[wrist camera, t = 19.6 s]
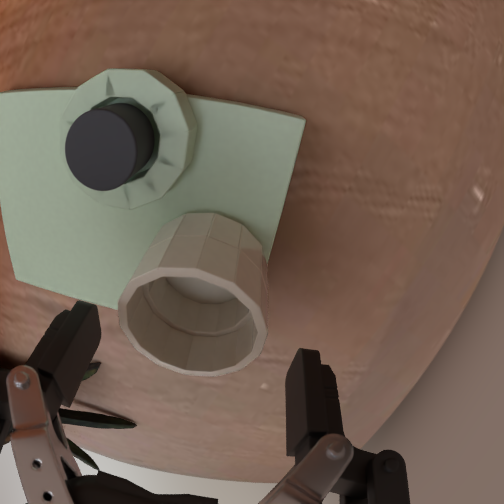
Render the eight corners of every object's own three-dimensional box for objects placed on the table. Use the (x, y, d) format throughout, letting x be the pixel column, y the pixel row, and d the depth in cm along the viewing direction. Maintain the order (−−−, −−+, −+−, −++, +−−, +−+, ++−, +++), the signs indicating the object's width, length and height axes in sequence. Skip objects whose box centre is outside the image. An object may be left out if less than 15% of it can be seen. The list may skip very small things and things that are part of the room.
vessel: (90, 325, 23) (-67, 312, 21) (63, 461, 14) (-99, 390, 13) (149, 410, 35) (7, 389, 34) (145, 493, 26) (-7, 453, 25)
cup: (279, 220, 15) (285, 285, 11) (253, 315, 18) (249, 386, 14) (155, 196, 14) (113, 251, 10) (151, 295, 18) (123, 360, 13)
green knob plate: (308, 95, 13) (318, 99, 10) (247, 322, 20) (245, 357, 18) (11, 73, 12) (-23, 79, 9) (25, 269, 19) (4, 293, 16)
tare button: (160, 106, 11) (141, 112, 9) (151, 180, 13) (134, 197, 11) (91, 101, 11) (65, 107, 9) (87, 170, 12) (64, 186, 11)
